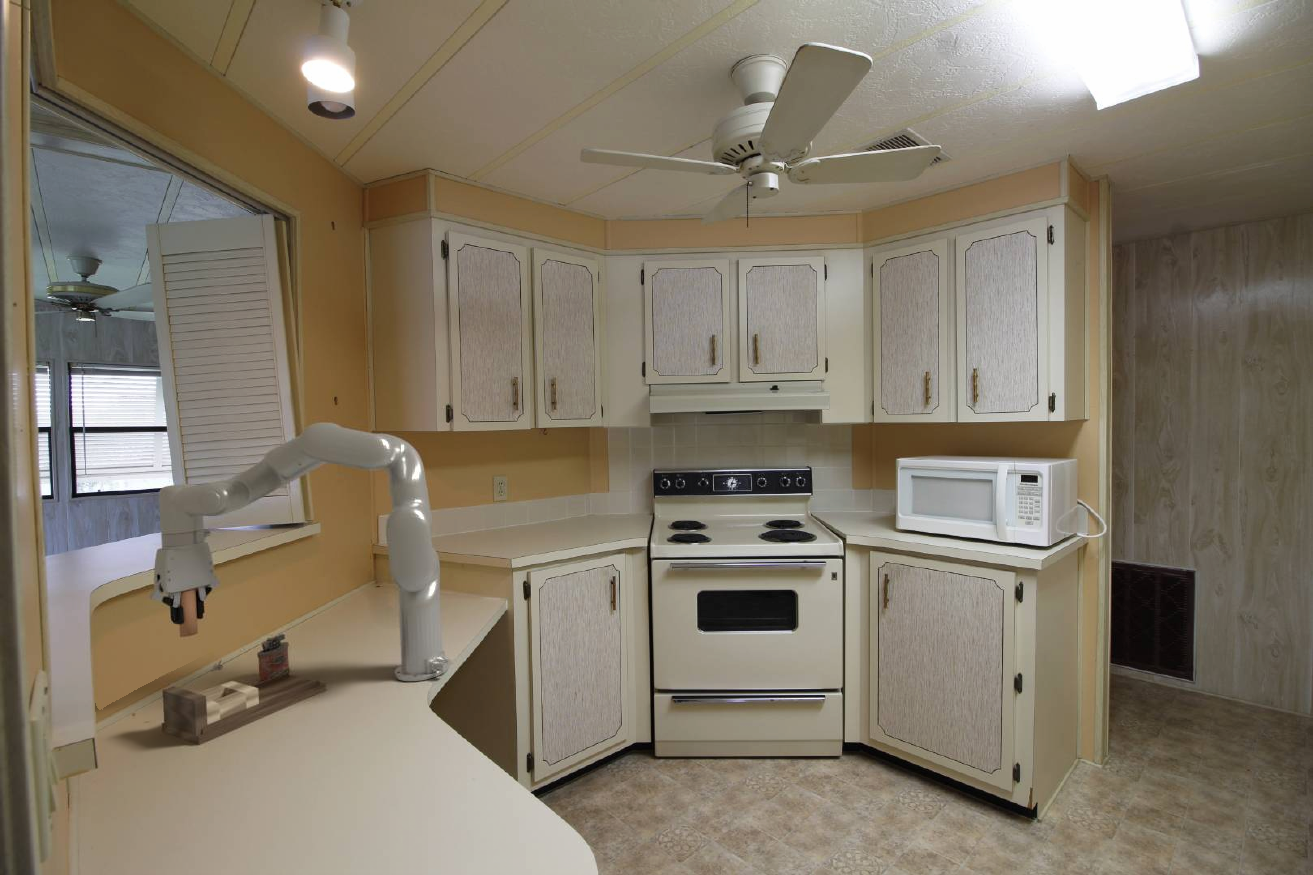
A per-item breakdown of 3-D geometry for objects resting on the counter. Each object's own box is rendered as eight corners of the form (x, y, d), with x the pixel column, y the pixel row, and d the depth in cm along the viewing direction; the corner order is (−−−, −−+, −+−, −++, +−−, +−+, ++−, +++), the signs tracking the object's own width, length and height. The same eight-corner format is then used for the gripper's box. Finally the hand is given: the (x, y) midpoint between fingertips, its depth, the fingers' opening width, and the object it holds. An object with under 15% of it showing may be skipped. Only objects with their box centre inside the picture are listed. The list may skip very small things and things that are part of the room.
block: (259, 706, 128) (258, 688, 128) (206, 728, 119) (205, 708, 119) (232, 698, 132) (231, 680, 132) (179, 719, 123) (178, 699, 123)
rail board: (326, 689, 139) (324, 653, 139) (199, 744, 116) (197, 701, 116) (289, 680, 146) (287, 645, 145) (162, 730, 122) (160, 689, 122)
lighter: (266, 685, 143) (264, 643, 143) (254, 684, 144) (252, 643, 144) (293, 671, 151) (291, 632, 151) (282, 670, 152) (280, 631, 151)
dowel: (200, 632, 135) (198, 588, 135) (184, 637, 133) (181, 592, 132) (193, 631, 137) (190, 587, 137) (177, 635, 134) (174, 591, 134)
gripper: (214, 532, 143) (219, 608, 144) (129, 546, 129) (135, 630, 129) (232, 533, 140) (237, 611, 140) (147, 548, 125) (152, 635, 126)
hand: (188, 620), depth 135 cm, fingers closed on dowel, 3 cm apart
